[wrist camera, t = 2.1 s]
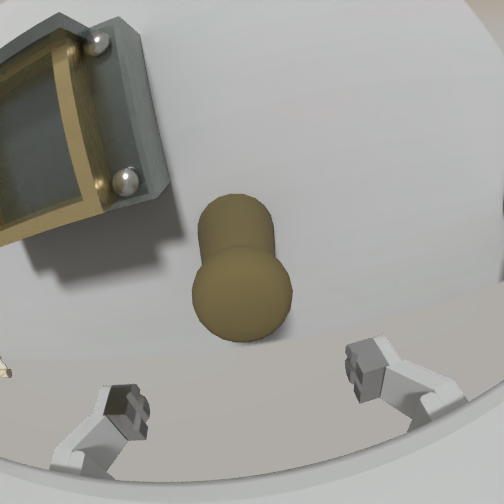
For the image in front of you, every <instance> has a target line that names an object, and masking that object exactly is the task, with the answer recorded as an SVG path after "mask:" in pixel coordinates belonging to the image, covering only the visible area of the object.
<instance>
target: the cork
mask: <svg viewBox="0 0 504 504" xmlns="http://www.w3.org/2000/svg"><path fill="white" fill-rule="evenodd" d="M198 240H199V247H200V254H201V261H202V266H201V267H200V269H199V270H198V271H197V274H196V277H195V280H194V283H193V287H192V301H193V306H194V310H195V312H196V314H197V316H198V318H199V321H200V322H201V323H202V324H203V325H204V326H205V327H206V328H207V329H208V330H209V331H210V332H211V333H212V334H214V335H216V336H218V337H220V338H222V339H224V340H228V341H232V342H252V341H256V340H259V339H262V338H264V337H266V336H268V335H270V334H272V333H273V332H274V331H275V330H276V329H277V328H278V327H279V326H280V325H281V324H282V323H283V322H284V320H285V318H286V317H287V315H288V313H289V311H290V309H291V302H292V293H293V290H292V286H291V282H290V277H289V275H288V273H287V271H286V270H285V268H284V267H283V265H282V264H281V262H280V261H279V260H278V259H277V258H275V241H274V225H273V222H272V218H271V215H270V213H269V212H268V210H267V209H266V207H265V206H264V205H263V204H262V203H261V202H259V201H258V200H257V199H255V198H253V197H250V196H247V195H245V194H228V195H225V196H222V197H219V198H217V199H216V200H214V201H213V202H211V203H210V204H208V206H207V207H206V208H205V210H204V211H203V212H202V214H201V216H200V219H199V222H198Z"/></svg>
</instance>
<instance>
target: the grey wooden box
mask: <svg viewBox="0 0 504 504" xmlns="http://www.w3.org/2000/svg"><path fill="white" fill-rule="evenodd" d="M169 183H170V177H169V173H168V169H167V164H166V160H165V156H164V152H163V148H162V144H161V139H160V135H159V130H158V126H157V121H156V117H155V112H154V108H153V103H152V98H151V93H150V88H149V83H148V78H147V73H146V67H145V62H144V57H143V51H142V45H141V39H140V34H138V33H137V32H136V31H135V30H134V29H133V28H132V27H131V26H129V25H128V24H127V23H126V22H125V21H124V20H123V19H121V18H120V17H119V16H118V17H115V18H113V19H110V20H108V21H105V22H103V23H100V24H98V25H95V26H93V27H91V28H88V27H86V26H84V25H83V24H81V23H79V22H77V21H75V20H73V19H71V18H70V17H68V16H66V15H64V14H62V13H60V12H59V13H57V14H55V15H53V16H51V17H49V18H48V19H46V20H44V21H42V22H41V23H39V24H37V25H36V26H34V27H32V28H31V29H29V30H27V31H26V32H24V33H23V34H21V35H20V36H18V37H17V38H15V39H14V40H12V41H11V42H9V43H8V44H6V45H5V46H3V47H2V48H1V49H0V247H2V246H5V245H7V244H10V243H13V242H16V241H18V240H21V239H24V238H27V237H30V236H33V235H36V234H39V233H42V232H45V231H48V230H51V229H54V228H57V227H60V226H63V225H66V224H69V223H72V222H76V221H79V220H82V219H86V218H89V217H92V216H96V215H99V214H102V213H104V212H108V211H111V210H115V209H119V208H122V207H126V206H130V205H133V204H137V203H141V202H145V201H149V200H153V199H156V198H158V196H159V195H160V194H161V193H162V191H163V190H164V189H165V188H166V186H167V185H168V184H169Z"/></svg>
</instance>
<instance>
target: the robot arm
mask: <svg viewBox="0 0 504 504" xmlns="http://www.w3.org/2000/svg"><path fill="white" fill-rule="evenodd" d="M345 353H346V354H347V359H346V360H345V368H346V373H347V376H348V379H349V381H350V383H352V384H354V392H355V395H356V397H357V399H358V401H359V403H363V402H366V401H370V400H373V399H376V398H379V397H380V398H381V399H382V400H384V401H385V402H387V403H388V404H390V405H391V406H393V407H394V408H396V409H397V410H399V411H401V412H402V413H403V414H405V415H407V416H408V417H410V418H411V419H412V422H411V424H410V426H409V429H408V431H407V433H405V434H403V435H400V436H398V437H395V438H393V439H390V440H388V441H386V442H383V443H380V444H377V445H374V446H372V447H369V448H366V449H363V450H360V451H357V452H354V453H351V454H348V455H344V456H341V457H338V458H334V459H331V460H327V461H323V462H319V463H315V464H311V465H307V466H302V467H298V468H293V469H289V470H284V471H279V472H273V473H267V474H261V475H255V476H248V477H240V478H231V479H221V480H210V481H193V482H137V481H120V480H115V479H114V478H113V477H112V476H111V475H109V474H108V473H107V472H106V471H107V470H108V468H109V467H110V466H111V464H112V463H113V462H114V460H115V459H116V458H117V456H118V455H119V454H120V452H121V451H122V449H123V448H124V447H125V445H126V444H127V443H128V441H131V440H146V438H147V431H148V426H147V425H146V423H145V422H146V421H147V420H148V419H149V416H150V408H149V404H148V402H147V399H146V398H145V397H144V396H143V395H141V394H140V389H139V387H138V386H137V385H136V384H126V385H105V386H104V385H103V386H102V387H101V388H100V391H99V394H98V398H97V400H96V404H95V407H94V410H93V413H92V415H89V416H88V417H87V418H86V419H85V420H84V421H83V422H82V423H81V424H80V425H79V426H78V427H76V428H75V429H74V430H73V431H72V432H71V433H70V434H69V435H68V436H67V437H66V438H65V439H64V440H63V441H62V442H61V443H60V444H59V445H58V446H57V447H56V448H55V452H54V455H53V458H52V462H51V466H50V468H49V470H46V469H41V468H37V467H33V466H29V465H26V464H22V463H18V462H15V461H11V460H8V459H5V458H2V457H0V504H504V380H503V381H502V382H500V383H499V384H497V385H496V386H494V387H493V388H491V389H490V390H488V391H486V392H485V393H483V394H482V395H480V396H478V397H477V398H475V399H473V400H471V401H470V402H468V400H467V399H466V397H465V396H464V394H463V393H462V392H461V390H460V389H459V387H458V386H457V385H456V383H455V382H454V380H451V379H449V378H447V377H444V376H442V375H440V374H437V373H435V372H433V371H430V370H428V369H426V368H423V367H421V366H418V365H416V364H414V363H412V362H409V361H407V360H403V361H402V360H401V359H400V357H399V356H398V354H397V353H396V351H395V350H394V348H393V347H392V345H391V344H390V342H389V341H388V339H387V338H386V336H385V335H383V334H381V335H378V336H374V337H371V338H368V339H365V340H362V341H359V342H355V343H352V344H348V345H347V346H346V351H345Z"/></svg>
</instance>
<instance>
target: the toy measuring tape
mask: <svg viewBox="0 0 504 504" xmlns="http://www.w3.org/2000/svg"><path fill="white" fill-rule="evenodd" d="M0 368H1V370H0V376H1V377H2V378H11V377H12V372H11V369H7V367H6V365H5V364H4V363H3V362H2V361H1V359H0Z"/></svg>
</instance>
